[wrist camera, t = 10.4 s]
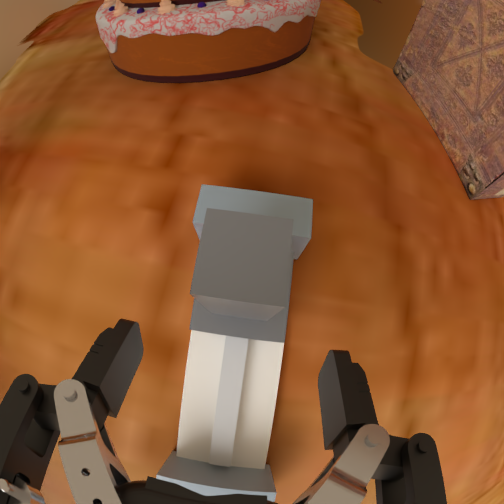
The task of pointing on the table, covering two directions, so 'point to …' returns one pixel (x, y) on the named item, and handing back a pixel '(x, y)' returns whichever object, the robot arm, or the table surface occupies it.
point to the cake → (203, 37)
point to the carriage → (243, 276)
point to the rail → (232, 378)
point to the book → (461, 85)
